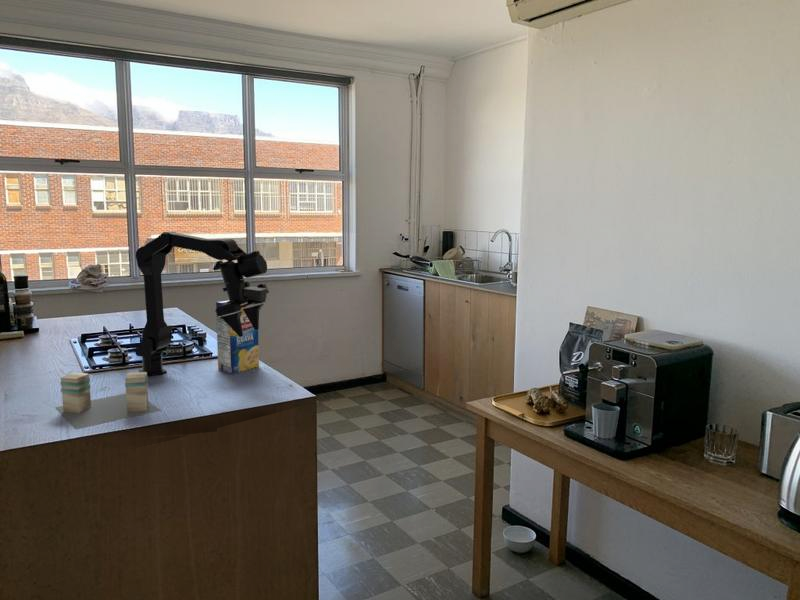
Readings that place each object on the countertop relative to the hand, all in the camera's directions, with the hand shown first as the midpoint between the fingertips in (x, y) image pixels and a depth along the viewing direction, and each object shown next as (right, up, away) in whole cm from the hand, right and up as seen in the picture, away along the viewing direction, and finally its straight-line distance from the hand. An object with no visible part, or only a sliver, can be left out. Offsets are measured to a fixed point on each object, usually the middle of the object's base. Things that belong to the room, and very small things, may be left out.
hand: (249, 332), depth 177 cm
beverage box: (-8, -13, +18) cm, 23 cm away
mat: (-31, -19, -21) cm, 42 cm away
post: (-24, -18, -21) cm, 36 cm away
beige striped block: (-39, -18, -22) cm, 48 cm away
